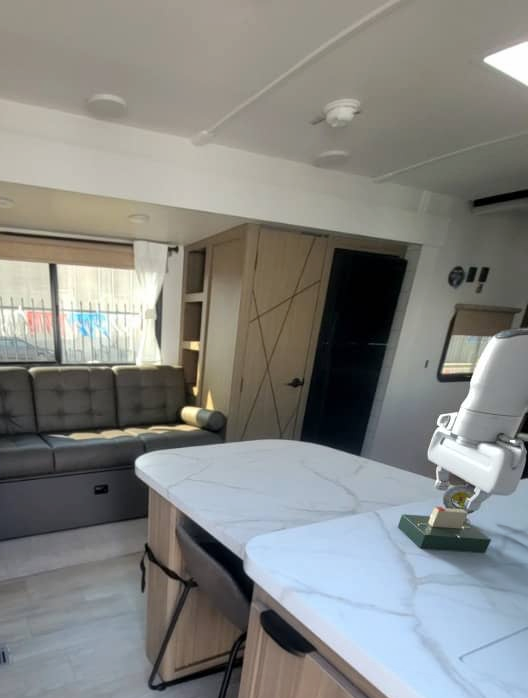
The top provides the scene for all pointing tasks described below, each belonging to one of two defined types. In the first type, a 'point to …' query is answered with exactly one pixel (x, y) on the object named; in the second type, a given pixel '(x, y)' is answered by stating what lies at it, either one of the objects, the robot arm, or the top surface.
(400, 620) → the top surface
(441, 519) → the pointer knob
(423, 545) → the dark green flat block
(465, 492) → the pocket watch
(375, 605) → the top surface
